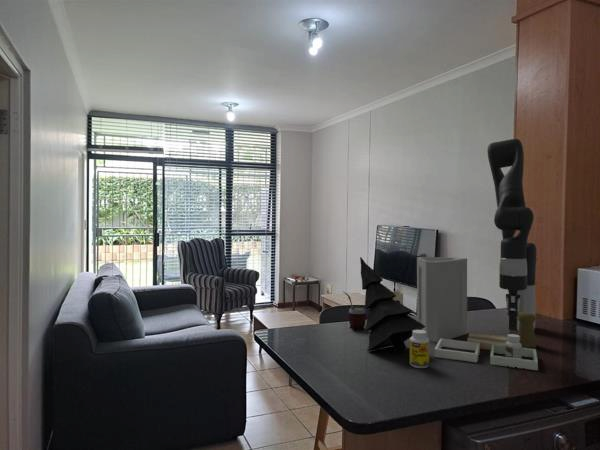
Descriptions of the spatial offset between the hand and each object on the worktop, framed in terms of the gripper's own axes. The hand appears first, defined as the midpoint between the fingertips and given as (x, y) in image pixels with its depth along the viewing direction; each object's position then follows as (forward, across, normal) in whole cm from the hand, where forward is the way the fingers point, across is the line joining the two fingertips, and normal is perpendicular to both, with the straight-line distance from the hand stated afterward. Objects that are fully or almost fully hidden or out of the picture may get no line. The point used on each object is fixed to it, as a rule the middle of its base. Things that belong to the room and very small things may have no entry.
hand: (512, 326), depth 131 cm
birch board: (+10, -14, -8) cm, 19 cm away
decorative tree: (+11, +4, -39) cm, 40 cm away
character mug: (+10, -27, -43) cm, 52 cm away
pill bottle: (+11, 0, 0) cm, 11 cm away
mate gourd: (+11, -15, -55) cm, 58 cm away
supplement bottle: (+11, +16, -25) cm, 31 cm away
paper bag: (+10, -21, -26) cm, 35 cm away
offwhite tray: (+10, 0, -16) cm, 19 cm away
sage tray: (+10, 0, 0) cm, 11 cm away
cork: (+10, -19, +4) cm, 22 cm away
